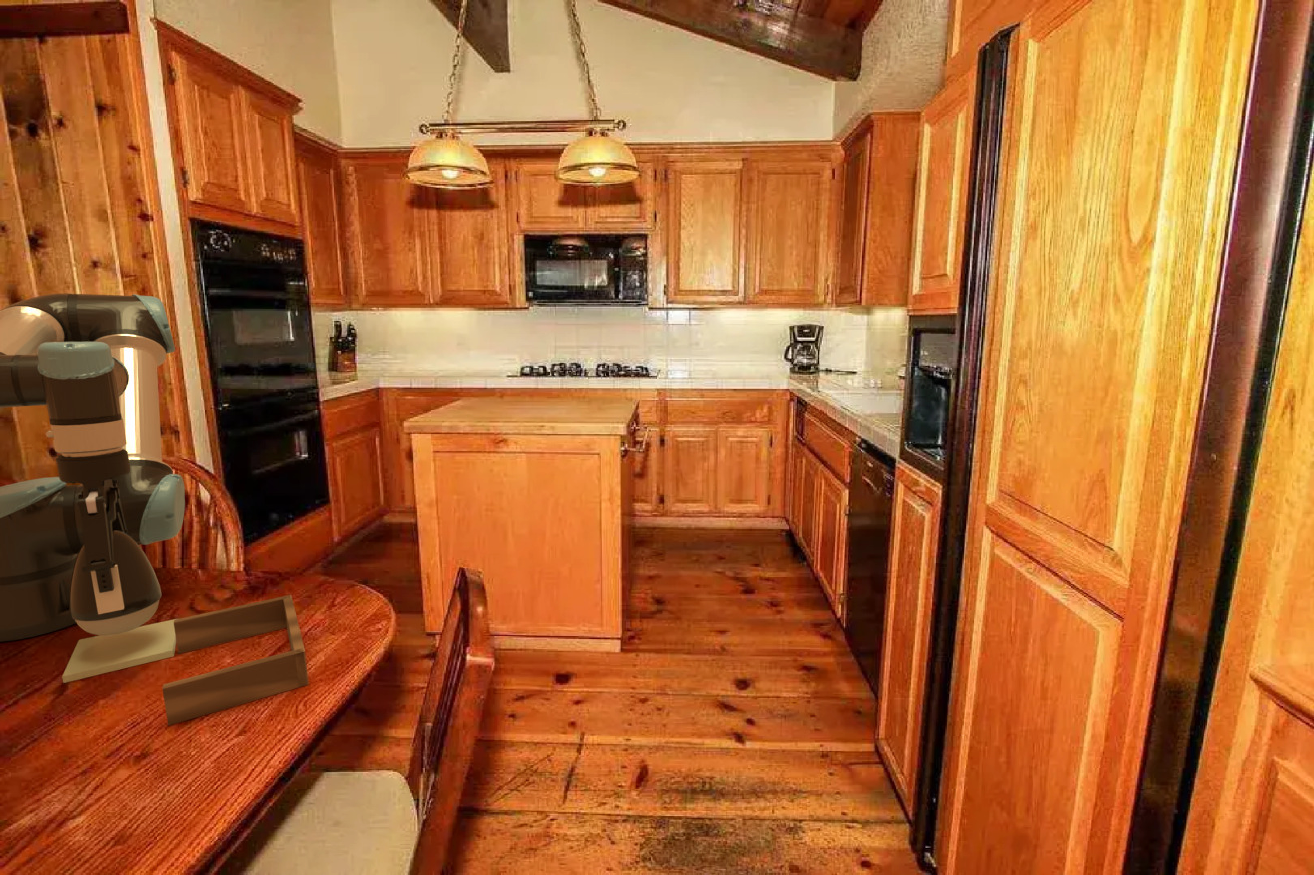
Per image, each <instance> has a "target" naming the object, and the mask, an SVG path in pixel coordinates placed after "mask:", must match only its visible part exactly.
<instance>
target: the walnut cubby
mask: <svg viewBox="0 0 1314 875" xmlns="http://www.w3.org/2000/svg"><path fill="white" fill-rule="evenodd" d="M175 619H176V620H174V629H175V635H176V647H177V648H176V649H177V653H178V655H179V654H184V653H188V652H191V651H195V650H200V649H204V648H208V647H212V646H216V645H220V644H224V643H229V642H233V641H236V640H237V641H238V640H242V639H245V638H248V637H253V636H257V635H262V634H266V633H270V632H273V631H278V630H282V629H286V631H287V632H286V633H287V636H288V640H289V646H290V651H285V652H282V653H278V654H274V655H270V656H267V657H263V658H262V657H261V658H260V659H259V658H258V659H255V660H251V661H247V662H243V663H239V664H236V665H233V666H228V667H224V668H221V669H217V670H213V671H212V670H211V671H209V672H206V673H202V674H198V675H194V676H190V677H186V678H182V679H179V680H174V681H171V682H168V683H167V682H166V683H164V684H163V683H162V694H163V701H164V708H165V713H166V720H167V725H168V726H172V725H175V724H178V723H182V722H186V721H190V720H192V719H195V718H199V717H202V716H206V715H209V714H213V713H217V712H219V711H224V710H226V709H229V708H233V707H234V708H235V707H237V706H240V705H241V706H242V705H244V704H247V703H251V702H254V701H257V700H261V699H264V698H267V697H272V696H275V695H277V694H281V693H284V692H288V691H292V690H295V689H299V688H302V687H305V686H308V685H310V683H309V674H308V666H307V664H308V663H307V656H306V650H305V646H304V641H303V637H302V633H301V628H300V624H299V621H298V617H297V613H296V609H295V605H294V600H293V597H292V594H289V595H284V596H279V597H274V598H270V599H266V600H265V599H264V600H261V601H256V602H250V603H247V604H242V605H237V606H232V607H227V608H223V609H222V608H221V609H220V610H219V609H218V610H214V611H210V612H205V613H200V614H196V615H191V616H186V617H182V618H175Z"/></svg>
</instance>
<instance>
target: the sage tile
mask: <svg viewBox="0 0 1314 875" xmlns="http://www.w3.org/2000/svg"><path fill="white" fill-rule="evenodd" d="M176 619H177V618H174V619H169V620H165V621H161V622H154V623H151V624H150V623H149V624H144V625H141V626H139V627H137V628H135V629H133V630H130V631H127V632H124V633H120V634H115V635H95V636H91V637H86V638H81V639H79V640H78V641H77V643H76V646H75V648H74V650H73V652H72V654H71V655H70V656H71V657H70V659H69V661H68V663H67V665H66V666H65V670H64V672H63V674H62V676H61V678H62V682H63V684H64V683H65V684H66V683H70V682H73V681H78V680H81V679H86V678H90V677H94V676H98V675H103V674H106V673H110V672H116V671H118V670H122V669H123V670H124V669H126V668H133V667H136V666H140V665H143V664H148V663H151V662H156V661H160V660H165V659H168V658H172V657H174V656H175V651H176V647H177V642H176V635H175V629H174V620H176Z"/></svg>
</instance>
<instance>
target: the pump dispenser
mask: <svg viewBox="0 0 1314 875" xmlns="http://www.w3.org/2000/svg"><path fill="white" fill-rule="evenodd" d="M112 531H113V547H114V561H115V563H116V565H117V566H118V572H119V578H120V584H121V590H122V596H123V602H124V609H123V610H118V611H113V612H108V613H103V614H98V610H97V604H96V599H95V593H94V587H93V582H92V576H91V571H90V572H84V573H83V571H82V567H86V558H85V549H84V543H83V545H82V547H81V548H80V550H79V552H78V555H77V557H76V560H75V564H74V568H73V573H72V578H71V584H70V594H69V610H70V616H71V617H72V618H73V619H75V621H76V623H75V624H77V625H78V626H79V627H80V629H82V630H83V631H85V632H86V633H89V634H91V635H95V636H99V635H115V634H120V633H124V632H127V631H130V630H133V629H135V628H137V627H141V626H143V625H145V623H148V621H149V620H151V618H152V617H153V616H154V615H155V613H156V612H157V610H158V608H159V604H160V599H161V598H162V590H161V585H160V583H159V580H158V578H157V575H156V573H155V570H154V568H153V566H152V564H151V562H150V560H149V559H148V557H147V555H146V553H145V552H144V550H143V549H142V548H141V546H140V545H138V544H137V543H136V541H135V540H134V539H133V538H131V537H130V536H129V535H128V534H126V533H124V532H122V531H119V530H117V529H112ZM98 560H104V559H98ZM98 560H96V561H98Z"/></svg>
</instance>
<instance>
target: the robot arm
mask: <svg viewBox="0 0 1314 875" xmlns="http://www.w3.org/2000/svg"><path fill="white" fill-rule="evenodd" d="M167 315H168V314H167V313H166V308H165V305H164V302H163V301H162V300H161V299H160V298H158V297H155V296H152V295H151V296H150V295H138V294H135V293H134V294H132V295H118V294H117V295H115V294H114V295H113V294H90V293H89V294H88V293H85V294H84V293H66V292H65V293H50V294H45V295H40V296H36V297H30V298H27V299H25V300H24V299H23V300H21V301H18V302H15V303H13V304H10V305H8V306H6V307H4V308H2V309H1V310H0V409H1V408H16V407H17V408H18V407H34V406H36V407H37V406H39V407H40V406H41V407H42V406H46V409H47V414H48V420H49V421H48V422H49V424H50V429H51V430H47V431H46V432H45V436H46V437H47V438H53V440H52V443H53V448H54V451H55V452H57V453H59V454H60V455H58V456H57V457H56V459H55V461H56V466H57V473H58V476H53V477H51V476H50V477H41V478H35V479H29V480H25V481H20V482H14V483H10V484H6V485H3V486H0V642H10V641H11V642H12V641H17V640H23V639H27V638H33V637H36V636H42V635H44V634H49V633H51V632H55V631H58V630H62V629H65V628H68V627H70V626H73V625H75V624H77V623H76V621H75V619H73V618H72V617H71V616H70V610H69V594H70V584H71V578H72V573H73V568H74V564H75V560H76V557H77V555H78V552H79V550H80V548H81V547H82V545H83V543H84V549H85V558H86V567H82V571H83V573H84V572H90V571H91V576H92V582H93V587H94V593H95V599H96V604H97V610H98V614H103V613H108V612H113V611H118V610H123V609H124V602H123V596H122V590H121V584H120V578H119V572H118V566H117V565H116V563H115V561H114V547H113V531H112V529H117V530H119V531H122V532H124V533H126V534H128V535H129V536H130V537H131V538H133V539H134V540H135V541H136V543H137V544H138V545H139V546H140V545H144V546H146V545H150V544H152V543H157V542H162V541H166V540H171V539H173V538H175V537H176V536H177V535H178V534H179V533H180V531H181V529H182V526H183V521H184V516H185V507H186V499H185V496H186V495H185V493H186V492H185V490H186V488H185V483H184V478H183V476H181V474H176V473H174V470H173V468H172V467H171V466H170V465H169V464H168V463H166V462H164V461H163V456H162V438H161V437H162V436H161V435H162V434H161V421H160V420H161V418H160V415H161V414H160V400H159V399H160V398H159V379H158V378H159V376H158V375H159V374H158V367H160V366H161V365H163V363H165V361H166V358H167V354H171V353H174V352H176V346H175V343H174V342H175V341H174V338H173V334H172V330H171V327H170V324H169V320H168V316H167ZM67 484H71V485H67ZM98 559H104V560H98ZM96 560H98V561H96Z"/></svg>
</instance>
